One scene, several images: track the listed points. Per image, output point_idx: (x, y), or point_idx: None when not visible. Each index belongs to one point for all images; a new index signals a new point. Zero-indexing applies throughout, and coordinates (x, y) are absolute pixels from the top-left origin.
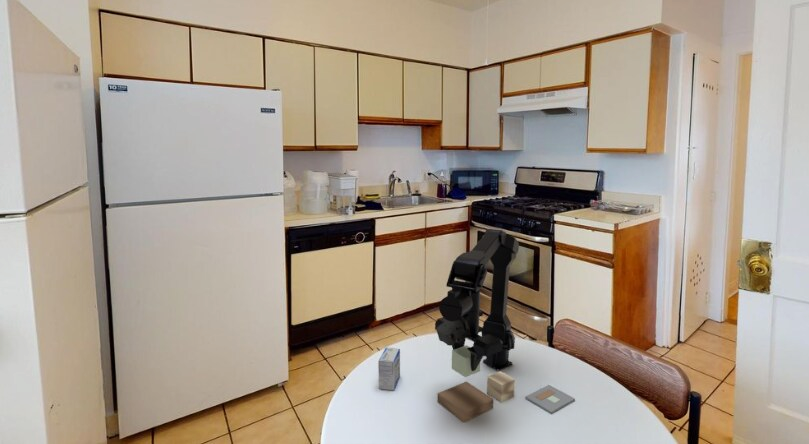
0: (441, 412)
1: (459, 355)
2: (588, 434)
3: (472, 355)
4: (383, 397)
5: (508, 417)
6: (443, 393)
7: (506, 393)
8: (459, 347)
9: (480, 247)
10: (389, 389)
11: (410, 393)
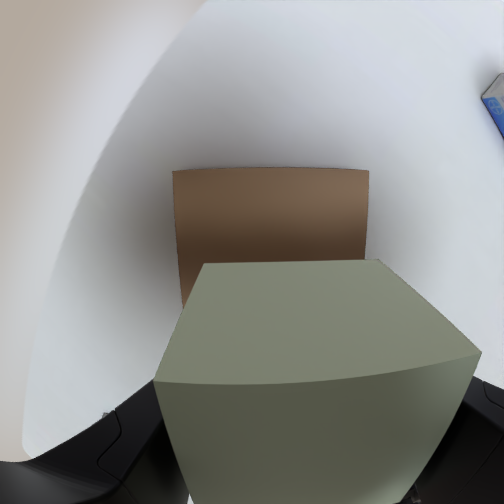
0: (288, 135)
1: (322, 370)
2: (33, 399)
3: (92, 463)
4: (463, 47)
5: (130, 327)
6: (351, 192)
7: None
8: (439, 448)
9: None
10: (488, 89)
11: (448, 127)
